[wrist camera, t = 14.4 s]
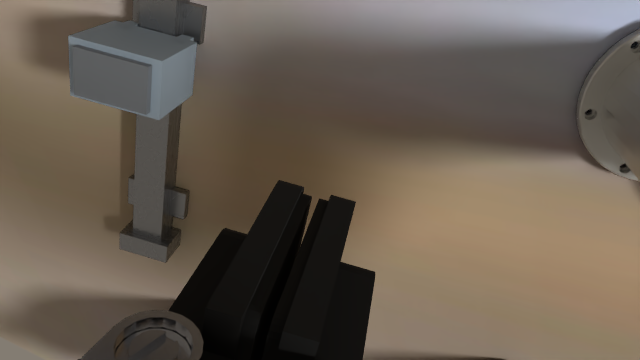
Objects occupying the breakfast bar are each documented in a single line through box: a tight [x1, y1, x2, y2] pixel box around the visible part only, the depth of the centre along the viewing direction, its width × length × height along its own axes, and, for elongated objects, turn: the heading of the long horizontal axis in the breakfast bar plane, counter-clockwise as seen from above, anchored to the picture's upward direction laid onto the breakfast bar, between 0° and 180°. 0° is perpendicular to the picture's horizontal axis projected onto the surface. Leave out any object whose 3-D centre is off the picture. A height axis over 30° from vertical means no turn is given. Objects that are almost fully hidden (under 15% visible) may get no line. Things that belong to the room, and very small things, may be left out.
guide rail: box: [120, 0, 207, 263], centre depth 46 cm, size 27×6×3 cm, turn 168°
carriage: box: [68, 20, 197, 120], centre depth 39 cm, size 4×7×8 cm, turn 78°
